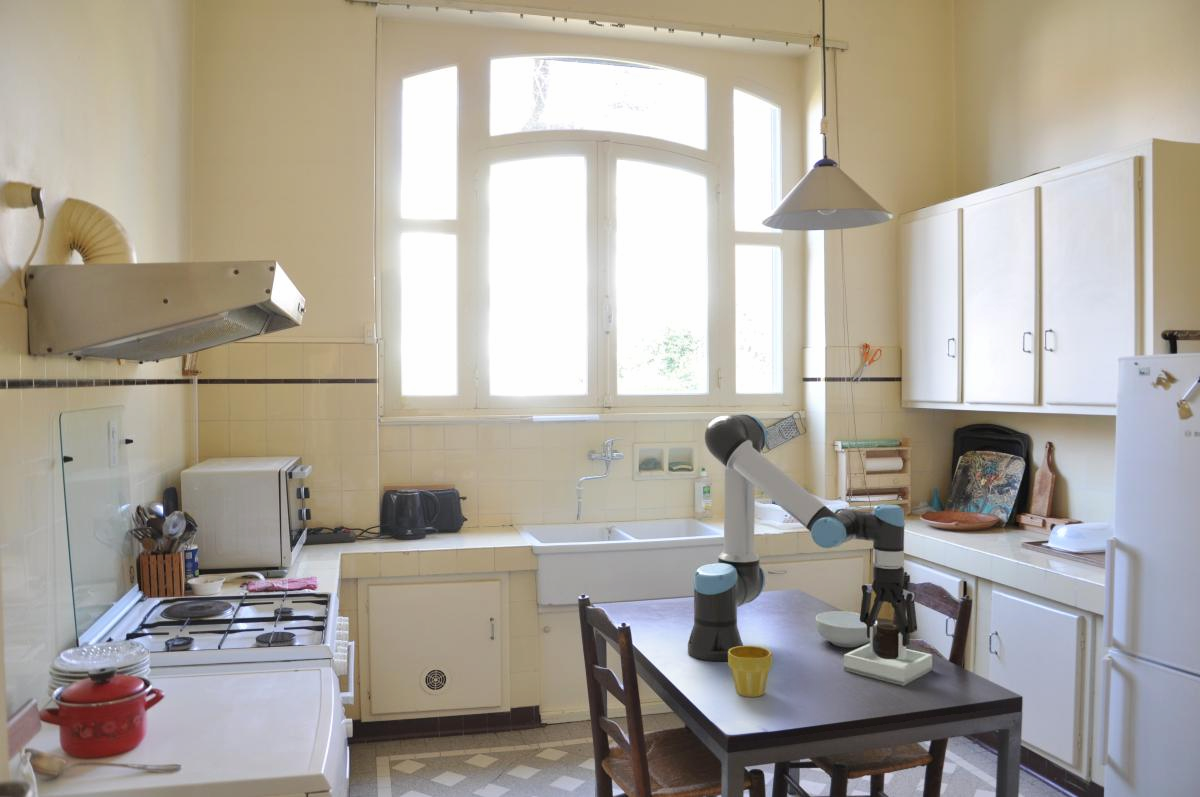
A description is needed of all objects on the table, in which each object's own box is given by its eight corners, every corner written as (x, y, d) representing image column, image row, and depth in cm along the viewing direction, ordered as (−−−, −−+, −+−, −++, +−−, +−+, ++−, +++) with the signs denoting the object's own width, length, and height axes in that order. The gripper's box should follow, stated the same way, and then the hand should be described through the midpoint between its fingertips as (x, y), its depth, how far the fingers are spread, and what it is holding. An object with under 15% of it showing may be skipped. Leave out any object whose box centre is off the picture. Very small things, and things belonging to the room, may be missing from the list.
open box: (903, 685, 208) (903, 669, 208) (843, 670, 219) (843, 654, 219) (932, 670, 219) (932, 654, 219) (873, 656, 231) (874, 641, 231)
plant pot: (718, 690, 205) (718, 650, 205) (748, 681, 211) (748, 642, 211) (751, 703, 197) (751, 661, 196) (780, 693, 203) (781, 652, 203)
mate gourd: (870, 651, 223) (871, 613, 223) (900, 653, 222) (901, 615, 222) (874, 660, 216) (875, 621, 216) (905, 662, 215) (906, 622, 215)
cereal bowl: (837, 655, 231) (837, 629, 231) (804, 638, 247) (804, 613, 247) (890, 649, 237) (890, 623, 237) (854, 632, 253) (854, 608, 252)
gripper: (933, 569, 214) (932, 660, 215) (859, 557, 229) (859, 642, 229) (919, 574, 209) (919, 667, 210) (845, 561, 223) (845, 649, 224)
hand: (887, 654), depth 219 cm, fingers closed on mate gourd, 7 cm apart
